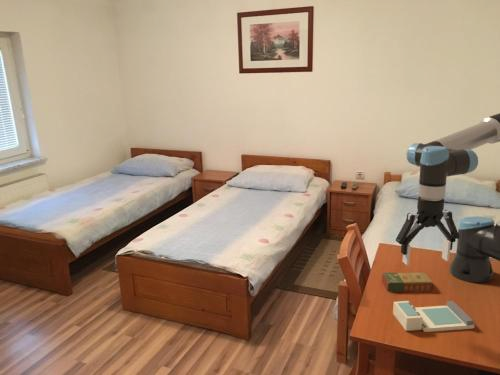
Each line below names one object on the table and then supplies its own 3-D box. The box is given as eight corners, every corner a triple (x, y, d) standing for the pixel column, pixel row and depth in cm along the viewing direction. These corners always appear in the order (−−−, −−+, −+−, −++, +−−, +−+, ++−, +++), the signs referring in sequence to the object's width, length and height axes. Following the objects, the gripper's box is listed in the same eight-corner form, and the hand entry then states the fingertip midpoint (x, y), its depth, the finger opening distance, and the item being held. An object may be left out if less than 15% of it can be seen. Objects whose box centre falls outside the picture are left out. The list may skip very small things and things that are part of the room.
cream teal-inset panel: (453, 308, 145) (454, 300, 145) (473, 328, 134) (474, 320, 133) (407, 311, 144) (408, 303, 144) (424, 332, 133) (425, 324, 132)
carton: (431, 292, 157) (432, 281, 156) (387, 292, 158) (388, 282, 156) (423, 281, 165) (424, 271, 164) (381, 281, 166) (382, 271, 164)
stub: (407, 312, 143) (408, 300, 142) (421, 329, 134) (422, 316, 132) (392, 313, 143) (393, 301, 142) (405, 330, 133) (406, 317, 132)
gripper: (460, 191, 136) (454, 253, 141) (387, 196, 132) (383, 260, 138) (476, 197, 129) (469, 262, 134) (399, 203, 125) (394, 270, 131)
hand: (425, 261), depth 136 cm, fingers open, 13 cm apart
